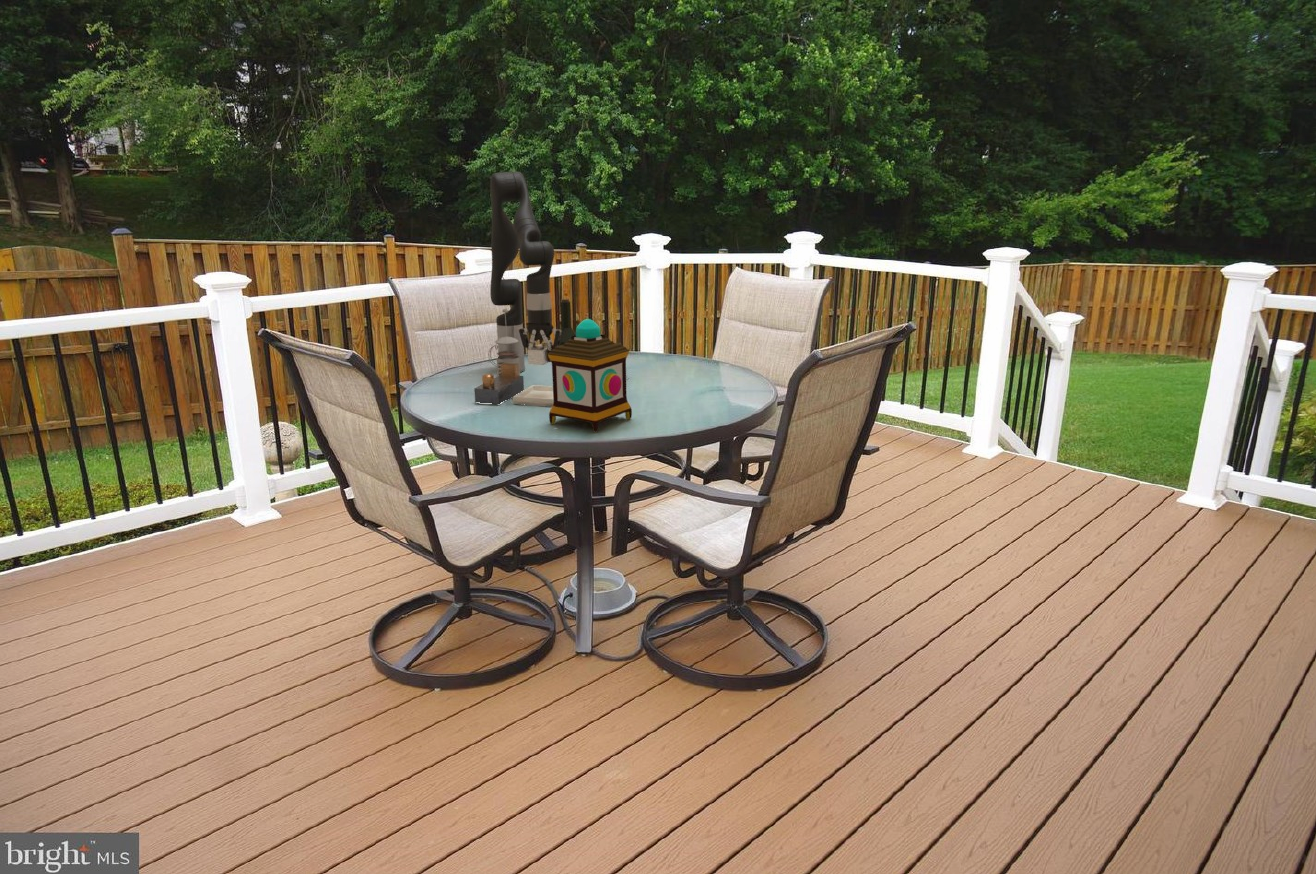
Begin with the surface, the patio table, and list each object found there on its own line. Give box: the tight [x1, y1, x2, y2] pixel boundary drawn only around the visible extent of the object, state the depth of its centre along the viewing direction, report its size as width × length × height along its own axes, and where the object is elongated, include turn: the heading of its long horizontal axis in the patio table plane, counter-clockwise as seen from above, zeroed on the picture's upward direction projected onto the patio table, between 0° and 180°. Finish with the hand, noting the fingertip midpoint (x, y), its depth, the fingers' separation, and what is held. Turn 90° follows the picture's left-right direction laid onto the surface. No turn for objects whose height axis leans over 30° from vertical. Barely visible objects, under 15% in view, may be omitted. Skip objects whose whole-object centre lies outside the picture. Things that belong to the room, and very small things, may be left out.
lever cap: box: [527, 341, 549, 366], centre depth 275 cm, size 10×5×6 cm, turn 165°
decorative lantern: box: [548, 318, 633, 433], centre depth 250 cm, size 20×20×30 cm
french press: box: [487, 308, 521, 377], centre depth 303 cm, size 10×12×25 cm
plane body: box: [473, 363, 525, 405], centre depth 282 cm, size 20×8×9 cm, turn 165°
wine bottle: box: [559, 298, 576, 346], centre depth 288 cm, size 8×8×30 cm
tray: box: [512, 384, 554, 408], centre depth 279 cm, size 16×14×2 cm
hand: (541, 361), depth 276 cm, fingers closed on lever cap, 5 cm apart
